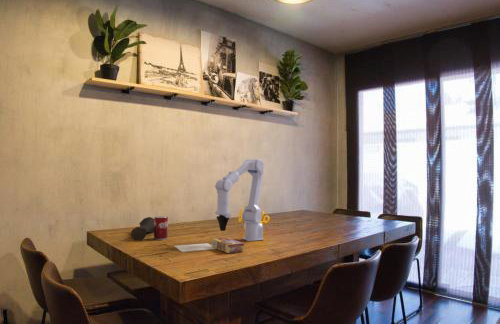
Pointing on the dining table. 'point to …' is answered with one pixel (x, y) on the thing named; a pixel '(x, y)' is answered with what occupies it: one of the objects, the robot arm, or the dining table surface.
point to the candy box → (228, 245)
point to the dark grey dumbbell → (143, 229)
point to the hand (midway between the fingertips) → (222, 230)
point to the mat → (194, 247)
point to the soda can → (160, 227)
